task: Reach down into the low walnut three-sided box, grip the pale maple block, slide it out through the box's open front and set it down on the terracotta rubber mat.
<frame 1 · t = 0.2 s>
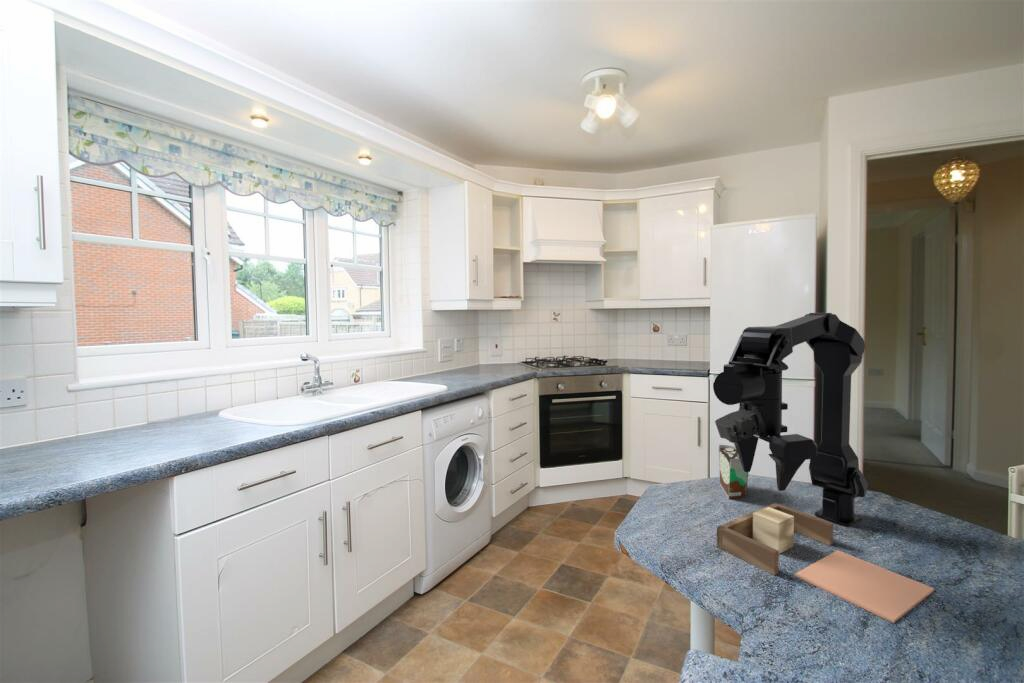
hand: (763, 480, 87), 14 cm above the countertop, fingers open, 9 cm apart
food container: (737, 492, 116), on the countertop
open side box: (772, 544, 91), on the countertop
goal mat: (862, 583, 78), on the countertop
maple block: (773, 529, 90), in the open side box
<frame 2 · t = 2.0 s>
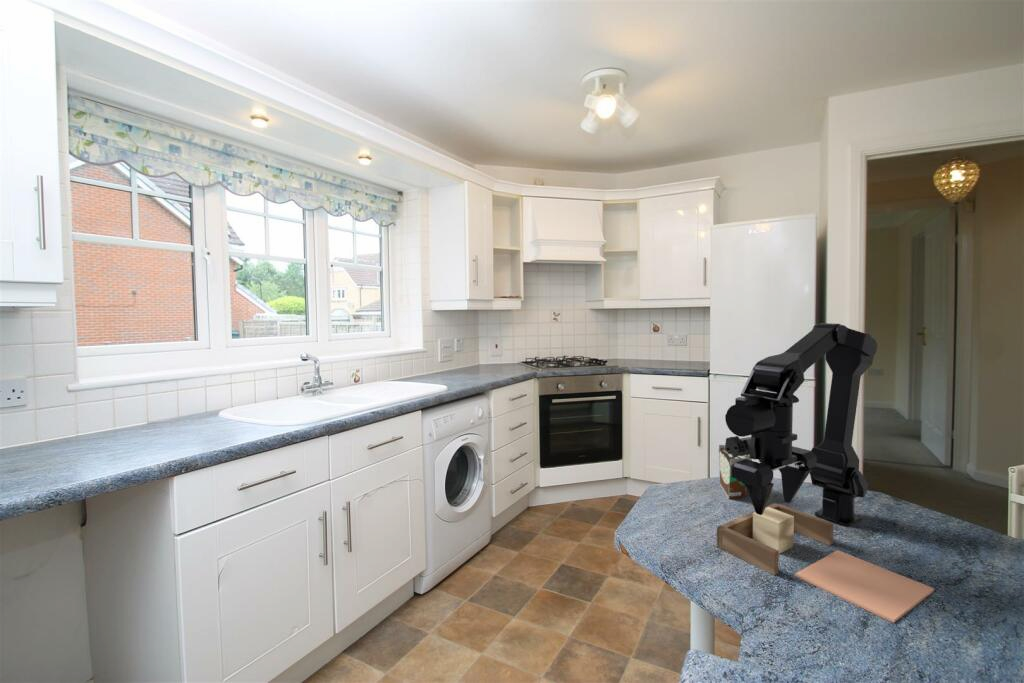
hand: (773, 508, 90), 7 cm above the countertop, fingers open, 9 cm apart
nothing on the countertop moved.
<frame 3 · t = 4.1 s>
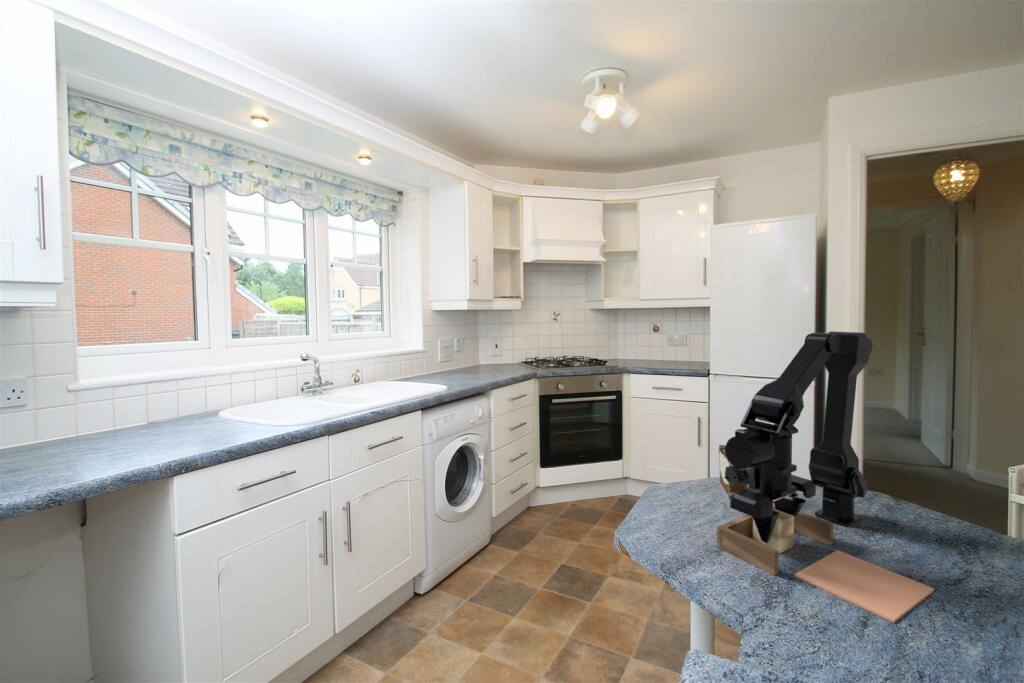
hand: (772, 537, 91), 1 cm above the countertop, fingers closed on maple block, 5 cm apart
maple block: (773, 529, 90), in the open side box, touching gripper
everything else where it was.
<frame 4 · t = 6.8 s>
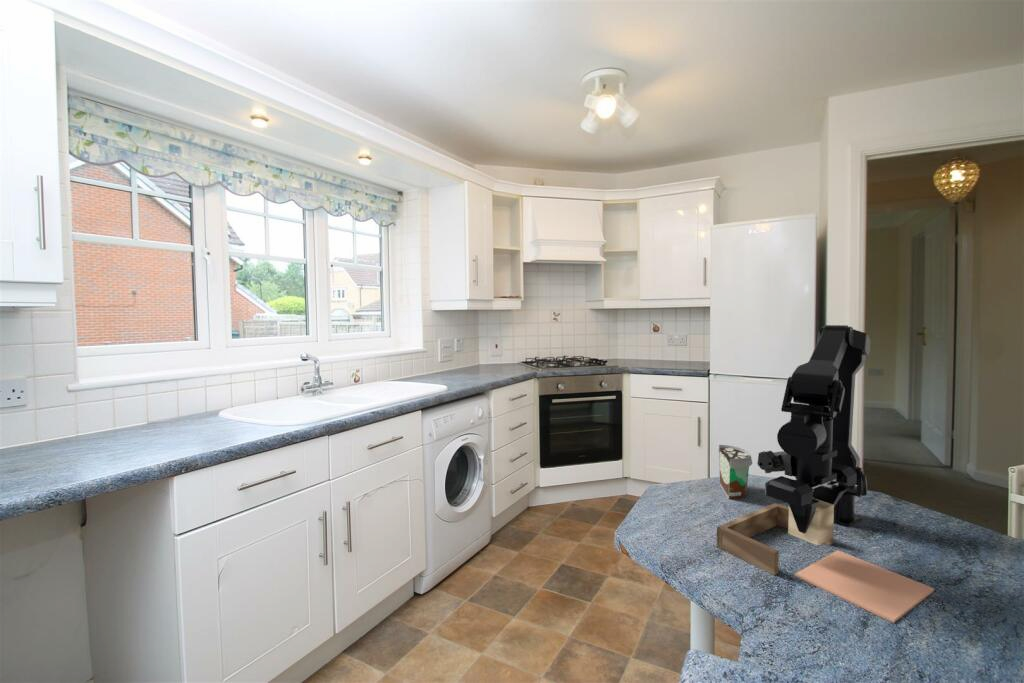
hand: (810, 528, 84), 6 cm above the countertop, fingers closed on maple block, 5 cm apart
maple block: (810, 519, 84), point 8 cm above the countertop, touching gripper
everything else where it was.
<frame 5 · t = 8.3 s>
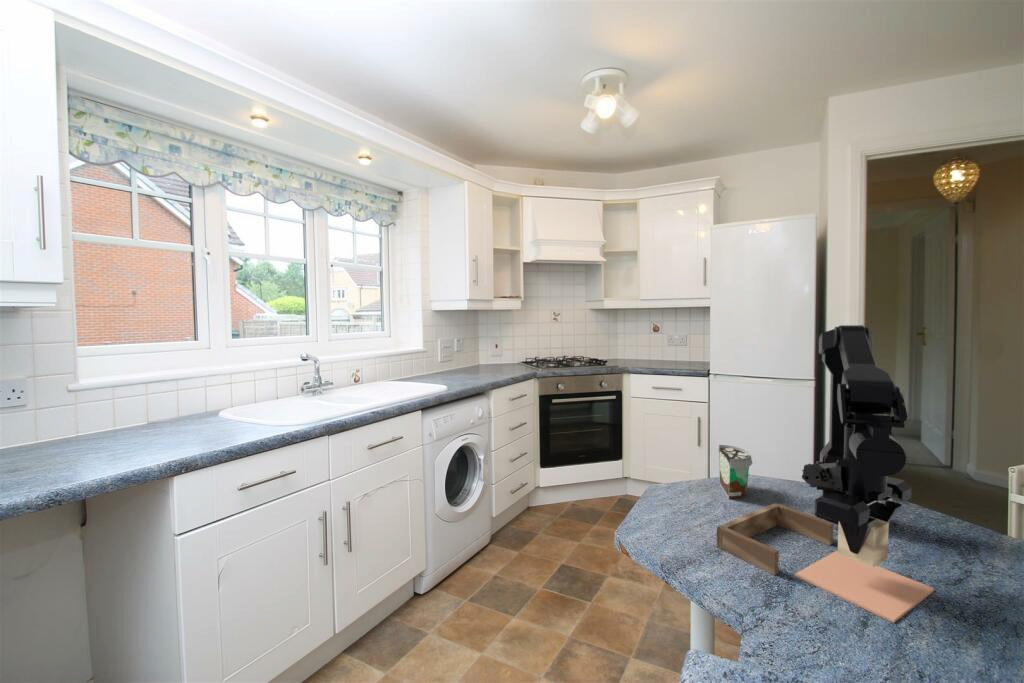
hand: (862, 548, 77), 6 cm above the countertop, fingers closed on maple block, 5 cm apart
maple block: (862, 538, 77), point 8 cm above the countertop, touching gripper
everything else where it was.
when the fingers open (2 cm above the countertop, at t = 9.5 s): maple block stays where it is, resting on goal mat.
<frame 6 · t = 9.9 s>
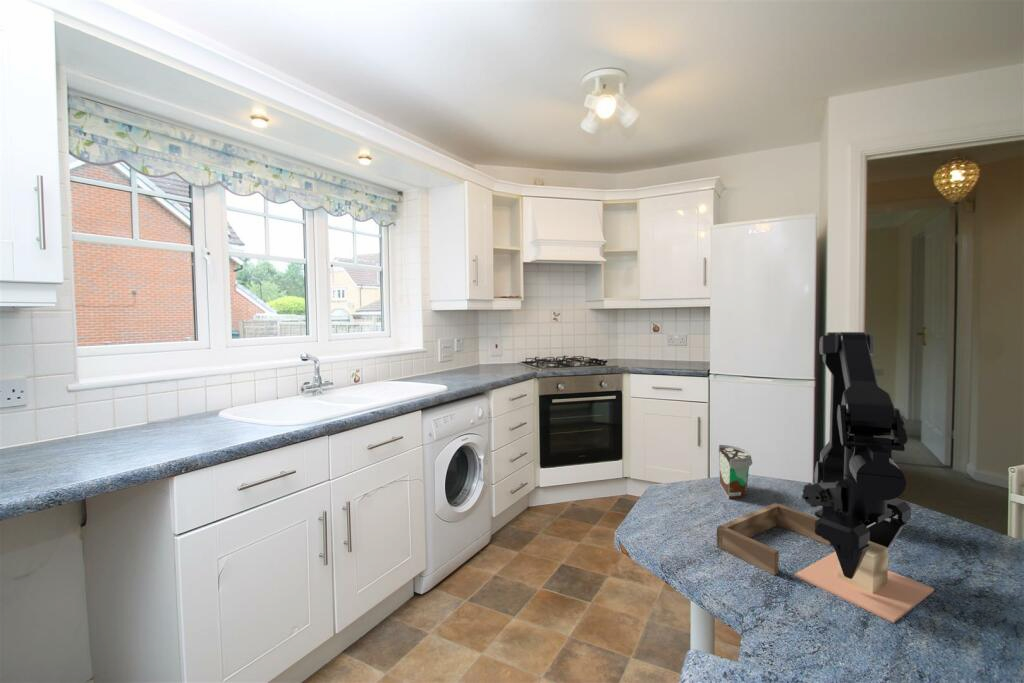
hand: (862, 568, 78), 2 cm above the countertop, fingers open, 9 cm apart
maple block: (862, 563, 78), on the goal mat
everything else where it was.
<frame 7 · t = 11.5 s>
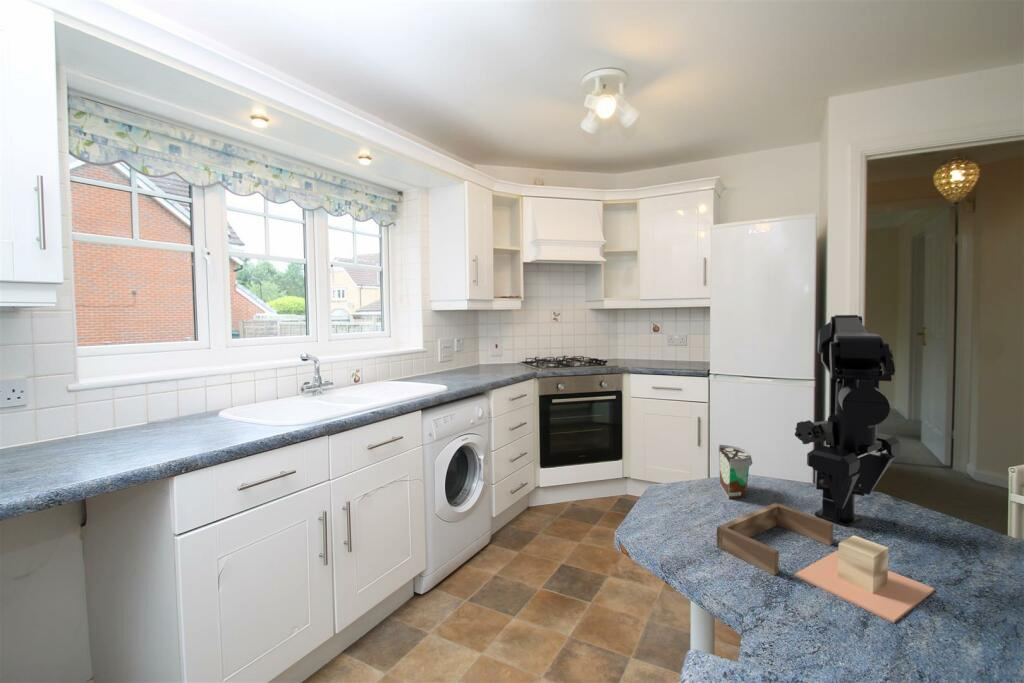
hand: (853, 500, 80), 13 cm above the countertop, fingers open, 9 cm apart
nothing on the countertop moved.
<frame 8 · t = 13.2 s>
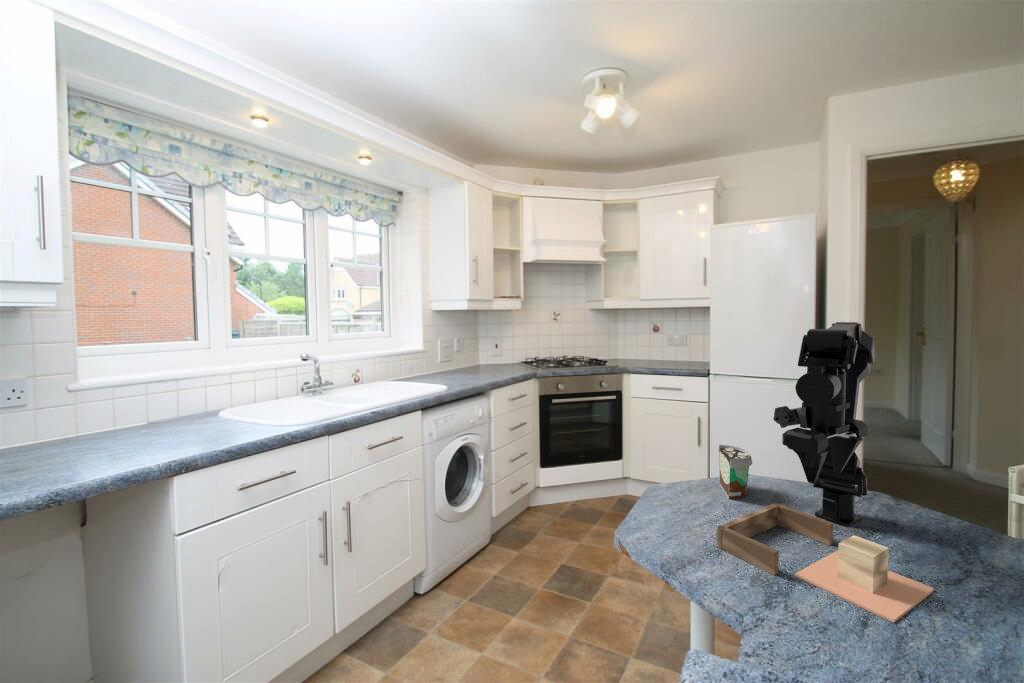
hand: (824, 477, 89), 13 cm above the countertop, fingers open, 9 cm apart
nothing on the countertop moved.
at the end: maple block inside the target area on the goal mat (0.1 cm from its centre), point 3.4 cm above the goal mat's base; maple block tilted 0°; the gripper is holding nothing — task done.
